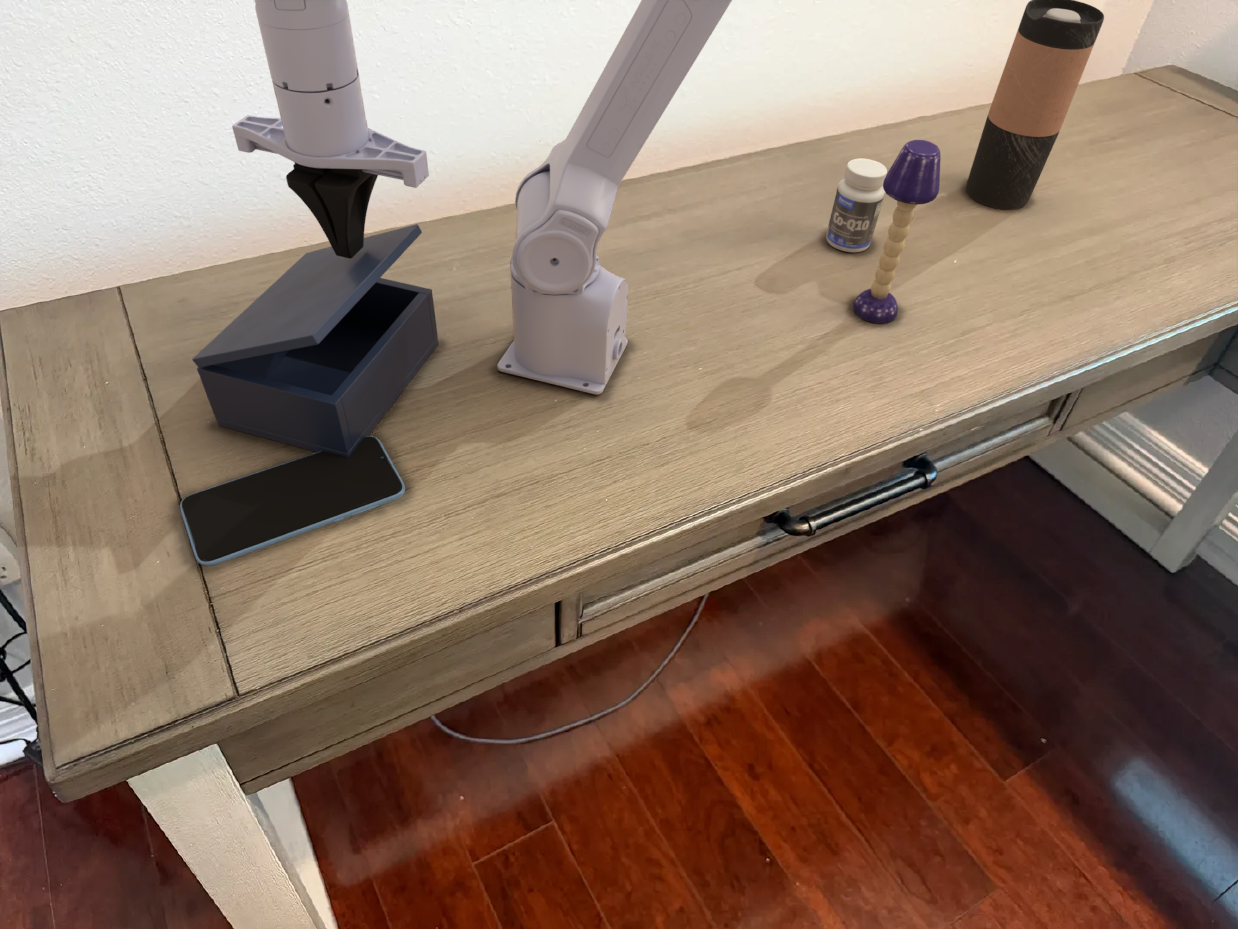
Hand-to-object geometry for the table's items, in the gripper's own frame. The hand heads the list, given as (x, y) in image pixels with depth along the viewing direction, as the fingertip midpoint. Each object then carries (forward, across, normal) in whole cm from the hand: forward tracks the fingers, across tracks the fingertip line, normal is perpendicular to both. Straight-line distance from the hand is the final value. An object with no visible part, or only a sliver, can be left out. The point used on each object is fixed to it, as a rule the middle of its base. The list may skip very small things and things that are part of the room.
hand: (349, 250), depth 70 cm
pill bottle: (+11, -37, -35) cm, 52 cm away
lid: (+2, +1, +4) cm, 5 cm away
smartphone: (+11, -3, +17) cm, 20 cm away
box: (+10, +1, +4) cm, 11 cm away
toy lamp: (+11, -41, -23) cm, 48 cm away
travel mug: (+10, -52, -52) cm, 74 cm away
